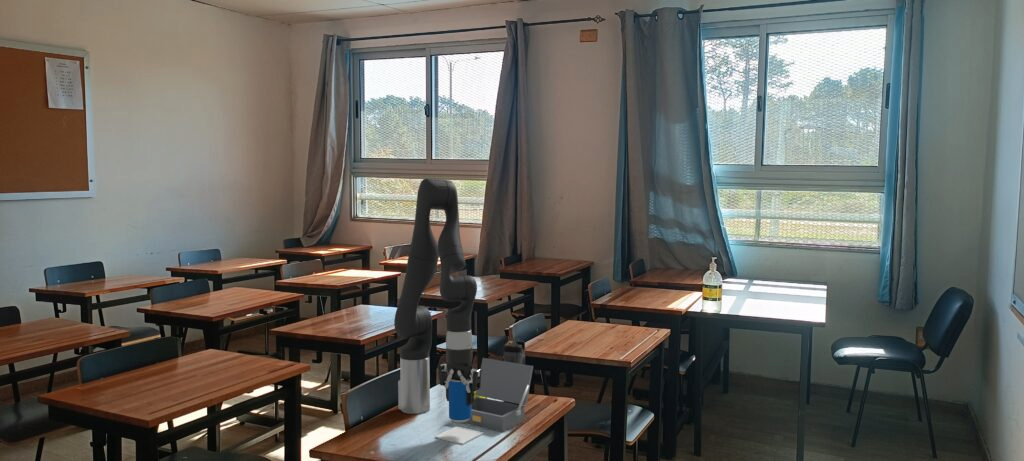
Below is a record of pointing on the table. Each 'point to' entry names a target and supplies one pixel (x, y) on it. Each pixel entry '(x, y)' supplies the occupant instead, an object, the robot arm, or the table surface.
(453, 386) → the beverage can
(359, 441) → the table surface
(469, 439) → the pad
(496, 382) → the case
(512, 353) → the electronic device
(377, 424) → the table surface
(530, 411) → the table surface
